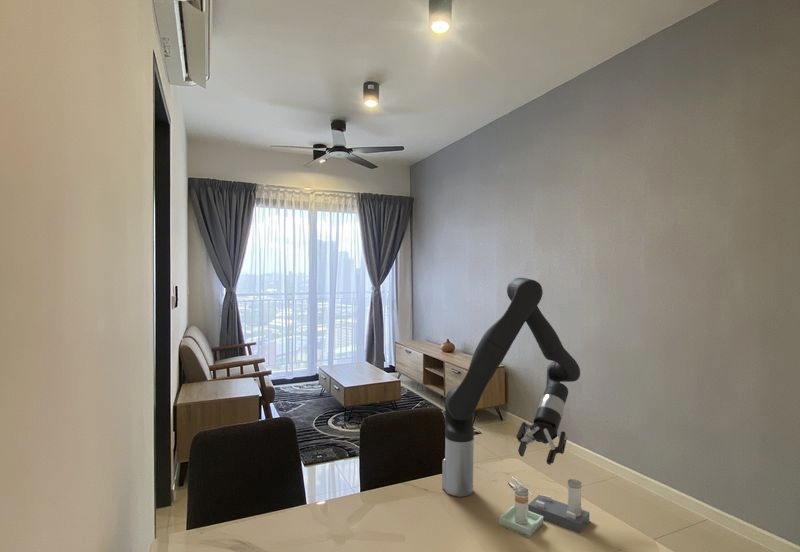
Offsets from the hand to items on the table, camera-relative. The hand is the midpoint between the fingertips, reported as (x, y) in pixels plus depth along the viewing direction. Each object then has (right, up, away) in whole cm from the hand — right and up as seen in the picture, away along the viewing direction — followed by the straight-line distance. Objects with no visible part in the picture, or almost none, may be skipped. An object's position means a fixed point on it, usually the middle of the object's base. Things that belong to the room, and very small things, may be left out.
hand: (534, 459), depth 128 cm
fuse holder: (+6, -16, -3) cm, 17 cm away
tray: (-6, -15, -7) cm, 18 cm away
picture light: (-1, -17, +16) cm, 23 cm away
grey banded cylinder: (-6, -15, -7) cm, 17 cm away
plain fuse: (+10, -13, -6) cm, 17 cm away
